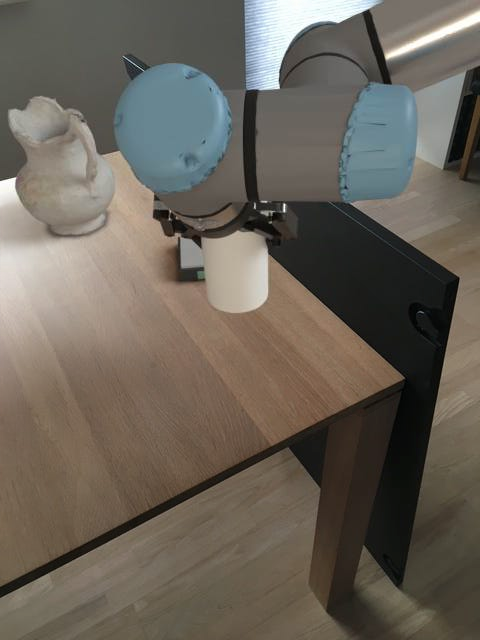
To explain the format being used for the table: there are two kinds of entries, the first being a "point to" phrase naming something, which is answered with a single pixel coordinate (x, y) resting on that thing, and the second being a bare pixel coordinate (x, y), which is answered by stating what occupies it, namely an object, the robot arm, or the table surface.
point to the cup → (236, 271)
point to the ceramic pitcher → (61, 168)
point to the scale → (190, 260)
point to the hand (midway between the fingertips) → (238, 240)
